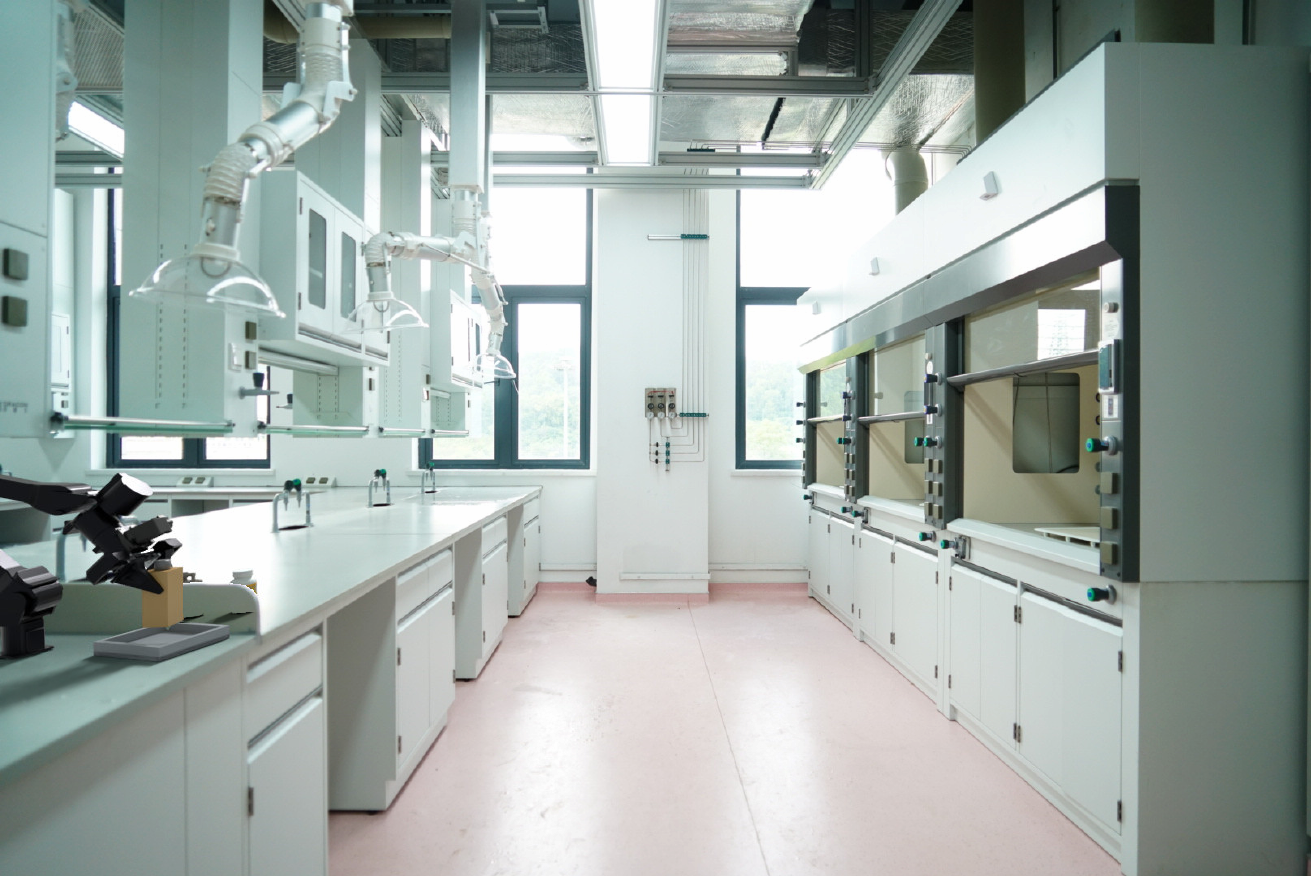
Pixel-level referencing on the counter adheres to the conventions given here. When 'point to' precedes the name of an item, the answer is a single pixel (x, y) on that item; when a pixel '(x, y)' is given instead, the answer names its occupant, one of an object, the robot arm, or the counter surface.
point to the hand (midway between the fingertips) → (170, 589)
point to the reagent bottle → (164, 597)
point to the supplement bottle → (245, 578)
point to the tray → (161, 641)
